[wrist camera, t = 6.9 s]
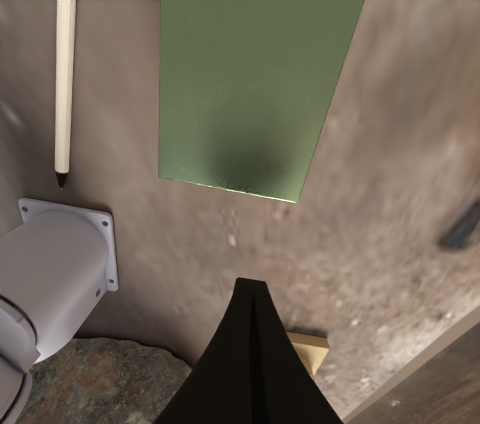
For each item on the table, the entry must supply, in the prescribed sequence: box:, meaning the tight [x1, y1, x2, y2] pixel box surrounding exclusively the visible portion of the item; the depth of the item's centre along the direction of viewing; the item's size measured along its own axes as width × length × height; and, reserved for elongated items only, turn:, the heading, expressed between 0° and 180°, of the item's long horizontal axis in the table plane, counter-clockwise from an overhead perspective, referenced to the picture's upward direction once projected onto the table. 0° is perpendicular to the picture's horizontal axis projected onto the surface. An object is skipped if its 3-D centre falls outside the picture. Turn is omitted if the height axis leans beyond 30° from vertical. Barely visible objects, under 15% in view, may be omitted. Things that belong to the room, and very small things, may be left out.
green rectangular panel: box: [158, 0, 365, 203], centre depth 11 cm, size 10×8×1 cm
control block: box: [286, 332, 330, 382], centre depth 28 cm, size 10×8×3 cm
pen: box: [55, 0, 76, 189], centre depth 15 cm, size 1×19×1 cm, turn 158°
